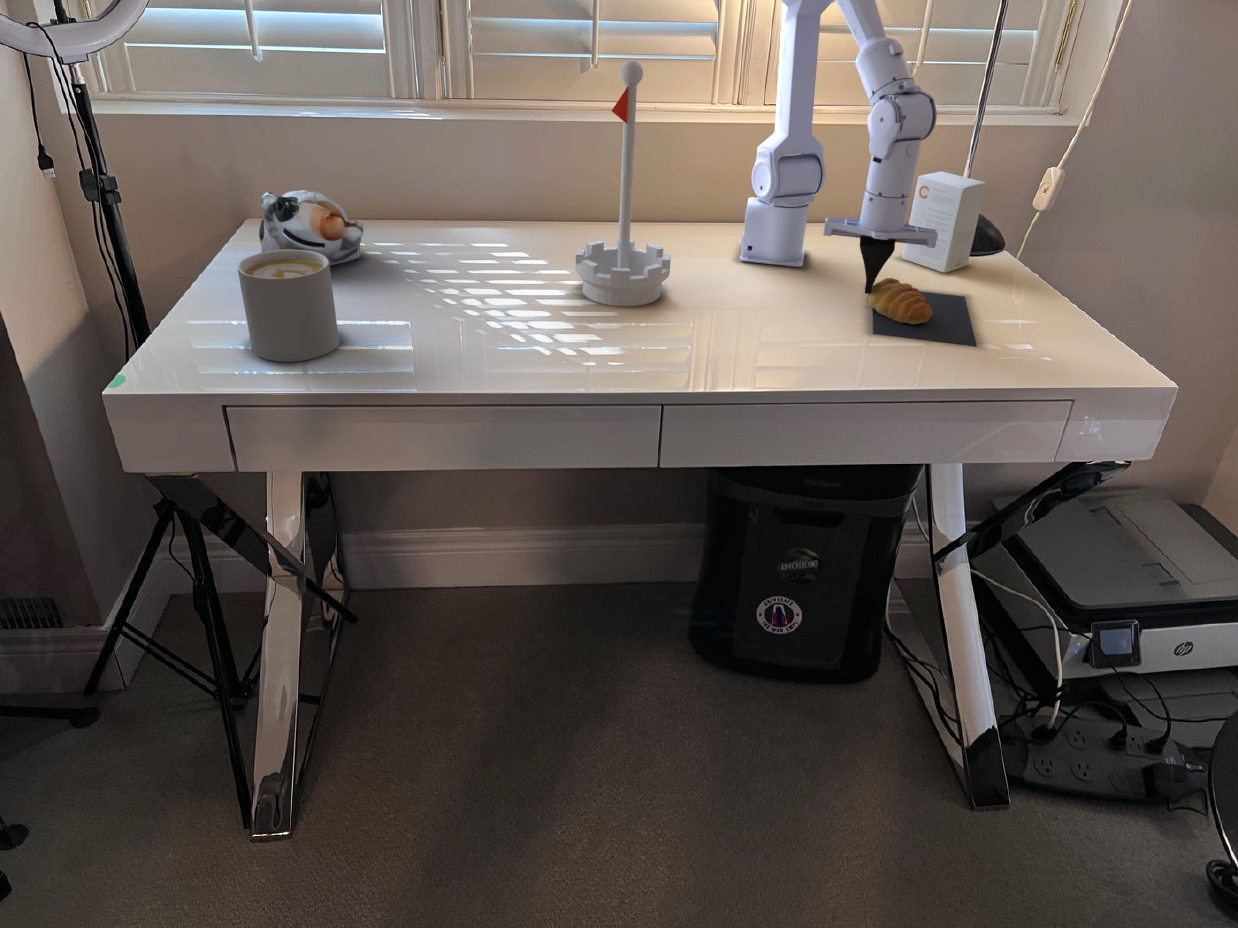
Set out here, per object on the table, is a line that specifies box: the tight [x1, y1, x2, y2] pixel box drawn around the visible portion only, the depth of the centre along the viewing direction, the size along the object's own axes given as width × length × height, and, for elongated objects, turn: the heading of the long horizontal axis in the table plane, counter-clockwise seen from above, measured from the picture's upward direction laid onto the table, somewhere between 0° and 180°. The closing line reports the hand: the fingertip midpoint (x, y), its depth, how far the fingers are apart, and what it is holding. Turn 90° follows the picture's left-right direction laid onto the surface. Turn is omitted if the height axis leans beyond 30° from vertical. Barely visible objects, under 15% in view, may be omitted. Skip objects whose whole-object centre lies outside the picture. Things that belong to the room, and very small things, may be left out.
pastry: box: [866, 277, 933, 325], centre depth 127 cm, size 9×7×4 cm
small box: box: [901, 170, 987, 274], centre depth 143 cm, size 8×6×13 cm
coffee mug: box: [237, 250, 340, 363], centre depth 111 cm, size 13×10×10 cm
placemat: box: [872, 290, 978, 347], centre depth 128 cm, size 13×18×1 cm
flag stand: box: [575, 60, 672, 307], centre depth 123 cm, size 13×13×30 cm
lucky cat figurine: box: [258, 189, 364, 266], centre depth 131 cm, size 15×12×14 cm
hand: (868, 291), depth 128 cm, fingers closed, pressing on pastry
